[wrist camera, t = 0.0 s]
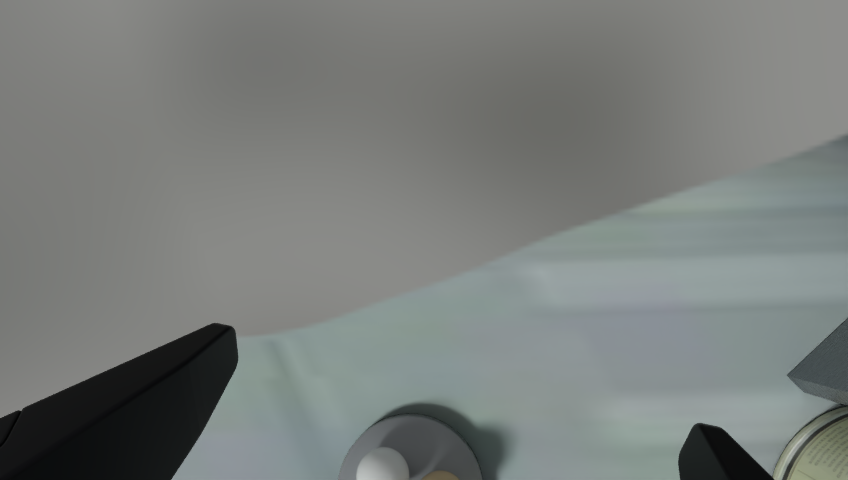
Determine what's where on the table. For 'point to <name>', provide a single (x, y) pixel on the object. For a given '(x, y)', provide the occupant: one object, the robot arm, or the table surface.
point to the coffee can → (817, 450)
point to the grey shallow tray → (826, 368)
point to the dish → (410, 452)
